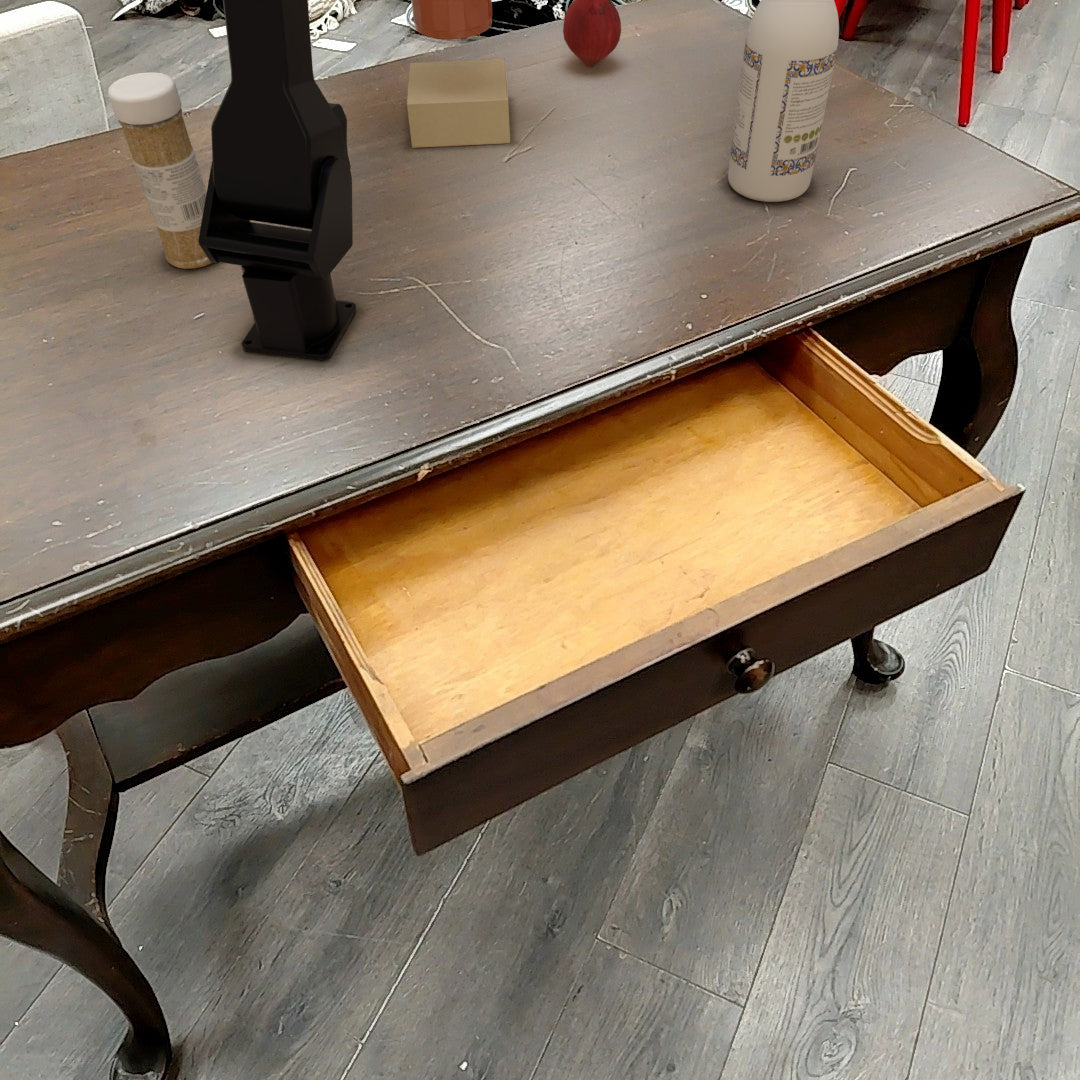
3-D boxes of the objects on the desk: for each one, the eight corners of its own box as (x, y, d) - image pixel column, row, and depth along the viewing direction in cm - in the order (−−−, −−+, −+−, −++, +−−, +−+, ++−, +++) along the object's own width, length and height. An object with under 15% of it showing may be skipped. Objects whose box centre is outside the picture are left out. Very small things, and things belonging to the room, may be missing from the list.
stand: (510, 143, 89) (508, 99, 86) (412, 148, 88) (406, 104, 86) (506, 100, 95) (504, 58, 92) (414, 105, 95) (409, 62, 92)
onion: (627, 59, 101) (631, -26, 95) (607, 81, 97) (610, -6, 91) (576, 51, 103) (576, -33, 97) (554, 72, 99) (553, -14, 93)
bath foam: (821, 176, 83) (876, -91, 69) (791, 212, 80) (843, -63, 65) (746, 158, 86) (784, -104, 71) (713, 192, 82) (747, -78, 67)
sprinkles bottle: (208, 234, 79) (157, 64, 69) (234, 257, 77) (185, 84, 67) (156, 254, 77) (95, 82, 67) (181, 278, 75) (121, 103, 65)
